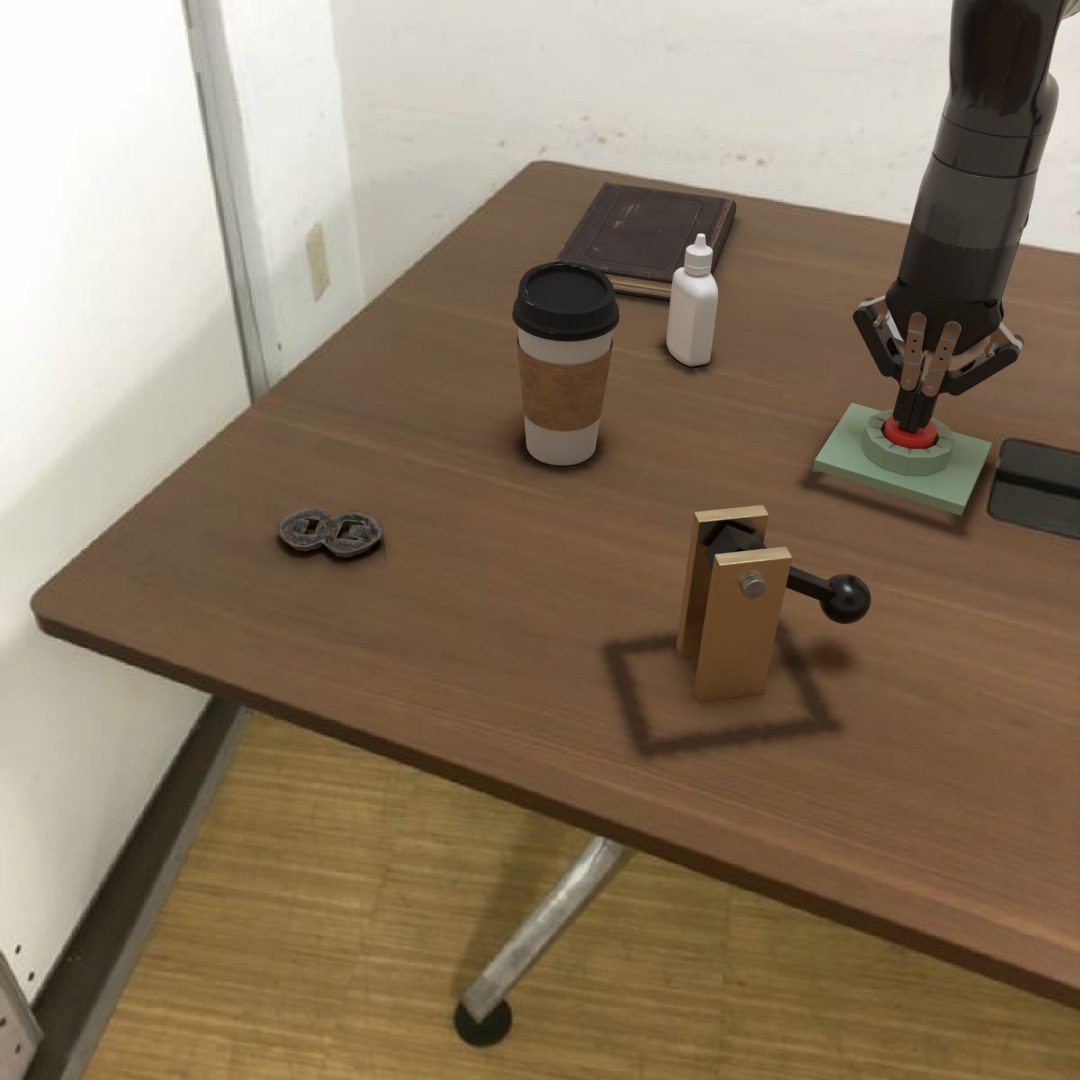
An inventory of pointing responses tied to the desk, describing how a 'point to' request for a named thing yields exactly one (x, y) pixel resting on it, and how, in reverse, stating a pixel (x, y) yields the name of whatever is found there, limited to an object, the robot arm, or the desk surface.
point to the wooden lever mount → (731, 606)
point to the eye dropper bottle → (693, 307)
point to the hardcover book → (646, 235)
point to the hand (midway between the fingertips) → (909, 426)
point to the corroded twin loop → (330, 531)
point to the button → (910, 435)
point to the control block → (903, 460)
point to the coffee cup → (564, 357)
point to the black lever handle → (805, 580)
